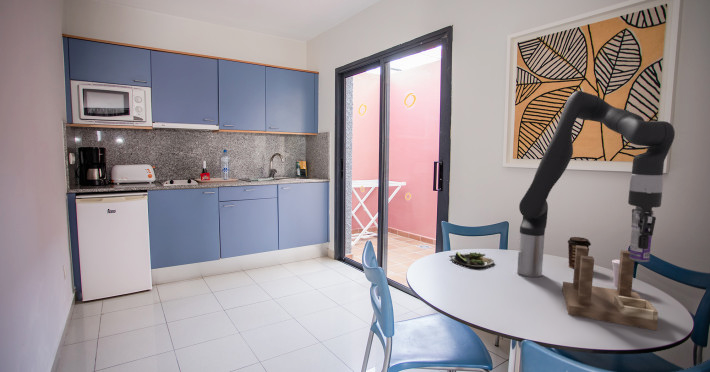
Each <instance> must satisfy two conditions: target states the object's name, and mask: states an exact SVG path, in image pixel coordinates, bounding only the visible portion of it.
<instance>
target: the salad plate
mask: <svg viewBox="0 0 710 372" xmlns="http://www.w3.org/2000/svg"><path fill="white" fill-rule="evenodd" d="M485 256H486V254H485V253H481V252H478V253H477V252H469V253H460V252H458V251H456V253H455V254H454V255H452V254H451V255H449V256H448V257H450V259H451V260H452V262H453V263H454V264H456V263H457V264H456V265H458V264H459V266H461V265H462V266H461V267H464V266H465V268H467V267H469V269H473V268H474V270H475V269H476V270H482V269H486V268H487V267H490V266H491V265H493V264H494V263H495V260H494V259H492V258H489V257H488V258H487V257H485ZM486 262H487V263H486ZM481 268H482V269H481Z"/></svg>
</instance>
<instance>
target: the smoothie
mask: <svg viewBox="0 0 710 372" xmlns="http://www.w3.org/2000/svg"><path fill="white" fill-rule="evenodd" d="M611 264H612V272H613V285H614V287H615V288H617V287H618V275H619V264H620V259H612V260H611Z"/></svg>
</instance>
